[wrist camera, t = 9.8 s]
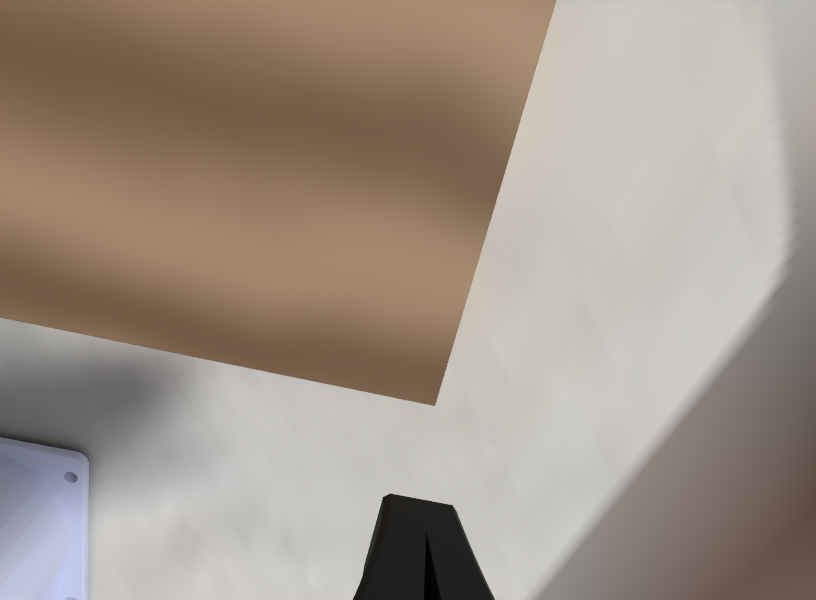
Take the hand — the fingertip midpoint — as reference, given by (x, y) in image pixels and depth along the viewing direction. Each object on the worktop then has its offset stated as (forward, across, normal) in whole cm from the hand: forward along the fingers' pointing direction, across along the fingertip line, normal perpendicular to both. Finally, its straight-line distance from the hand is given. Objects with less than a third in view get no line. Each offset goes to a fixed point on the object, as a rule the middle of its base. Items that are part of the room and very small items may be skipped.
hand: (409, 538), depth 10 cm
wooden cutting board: (+9, +6, -6) cm, 13 cm away
